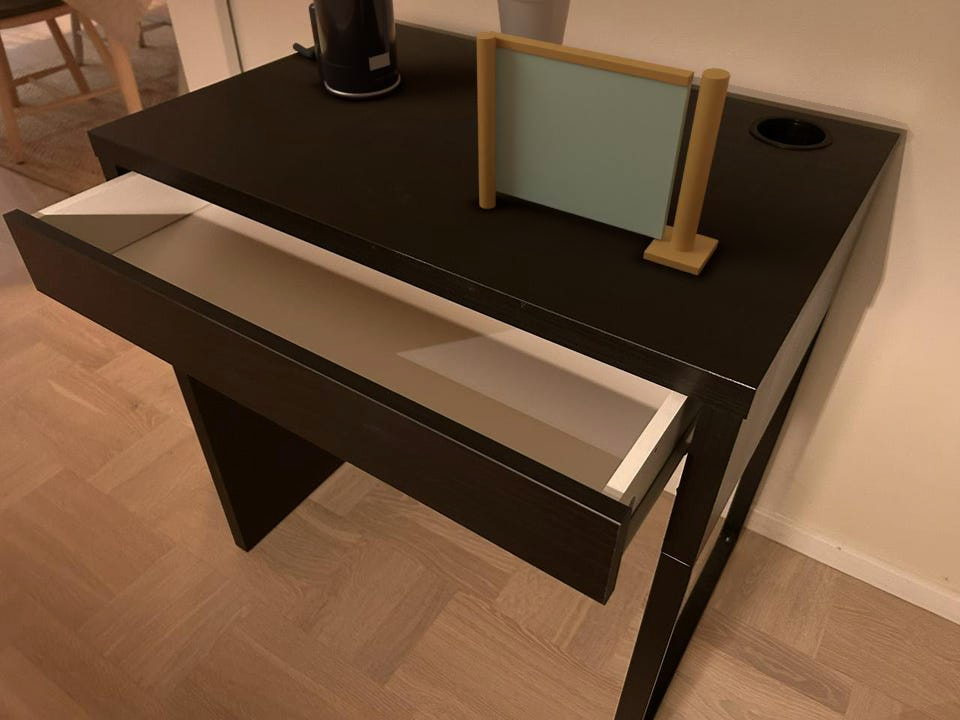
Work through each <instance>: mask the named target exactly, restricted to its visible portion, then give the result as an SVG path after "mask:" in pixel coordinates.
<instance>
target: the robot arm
mask: <svg viewBox="0 0 960 720" xmlns="http://www.w3.org/2000/svg"><path fill="white" fill-rule="evenodd" d="M394 9H395V8H394V0H312V2H311V3H310V4H309V6H308V14H309V21H310V27H311V32H312V38H313V45H314V46H311V48H310V49H308V48H306V47H305V46H304V45H301V44H300V43H298V42H294V43H293V44H292V49H293V50H294V51H295V52H297V53H299V54H300V55H301V56H303V57H305V58H306V59H307V58H308V59H311V60H314V59H316V63H317V70H318V76H319V83H320V85H321V86H324V87H325V90H326V92H327V93H329V94H330V95H332V96H334V97H337V98H341V99H345V100H369V99H376V98H380V97H383V96H386V95H390V94H391V93H394V92H395V91H396V90H397V89H398V88H399V87H400V86H401V74H400V70H399V57H398V45H397V43H398V42H397V34H396V23H395V22H396V21H395V11H394Z"/></svg>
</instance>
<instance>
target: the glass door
mask: <svg viewBox="0 0 960 720" xmlns="http://www.w3.org/2000/svg"><path fill="white" fill-rule="evenodd" d="M490 32H491V33H494V34H495V35H496V192H497V193H498V192H499V193H501V194H505V195H507V196H511V197H515V198H518V199H521V200H525V201H528V202H532V203H536V204H538V205H542V206H546V207H549V208H553V209H555V210H559V211H562V212H566V213H568V214H573V215H575V216H579V217H583V218H585V219H590V220H593V221H595V222H599V223H603V224H606V225H609V226H613V227H616V228H619V229H623V230H627V231H629V232H633V233H637V234H640V235H644V236H647V237H650V238H654V239H655V238H657V239H660V240H661V239H662V238H663V237H664V235H665V229H666V225H667V223H668V218H669V211H670V207H671V201H672V195H673V189H674V184H675V178H676V173H677V169H678V161H679V156H680V151H681V145H682V140H683V134H684V129H685V123H686V118H687V112H688V106H689V101H690V94H691V90H692V86H693V85H692V84H693V81H694V78H695V77H694V76H695V71H693V70H689V69H684V68H678V67H673V66H668V65H663V64H659V63H653V62H649V61H648V62H647V61H644V60H638V59H633V58H630V57H629V58H628V57H623V56H619V55H612V54H609V53H604V52H603V53H602V52H598V51H592V50H589V49H582V48H579V47H578V48H577V47H572V46H568V45H563V44H562V45H558V44H553V43H548V42H543V41H538V40H533V39H528V38H523V37H518V36H513V35H508V34H503V33H501V32H499V31H493V30H492V31H490Z"/></svg>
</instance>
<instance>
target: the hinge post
mask: <svg viewBox="0 0 960 720" xmlns="http://www.w3.org/2000/svg"><path fill="white" fill-rule="evenodd" d="M730 79H731V73H730V72H729V71H728V70H726V69H723V68H717V67H716V68H715V67H712V68H711V67H710V68H706V69H704V70H703V71H702V74H701V79H700V84H699V90H698V95H697V99H696V100H697V101H696V105H695V110H694V115H693V120H692V127H691V131H690V132H691V133H690V138H689V142H688V147H687V153H686V158H685V163H684V170H683V175H682V180H681V185H680V186H681V187H680V190H679V195H678V200H677V206H676V212H675V216H674V222H673V226H670V225H667V224H666V229H665V235H664V237H663V238H662V239H661V240H660V239H657V238H654V239H652V241H651V242H650V244H649V245H648V246H647V247H646V249H645V250H644V252H643V258H642V259H644V260H646V261H650V262H654V263H656V264H659V265H663V266H665V267H668V268H672V269H674V270H675V269H676V270H679V271H682V272H684V273H688V274H692V275H694V276H699V275H700V274H701V272H702V271H703V269H704V267H705V266H706V264H707V263H708V261H709V260H710V258H711V257H712V255H713V254H714V253H715V251H716V250H717V248H718V244H719V240H718V239H715V238H713V237H709V236H706V235H702V234H699V233H698V227H699V223H700V218H701V215H702V211H703V205H704V200H705V195H706V191H707V186H708V182H709V176H710V172H711V168H712V163H713V158H714V154H715V150H716V149H715V148H716V144H717V139H718V135H719V130H720V125H721V121H722V116H723V111H724V108H725V107H724V106H725V102H726V97H727V92H728V87H729V83H730Z"/></svg>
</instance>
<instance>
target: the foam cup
mask: <svg viewBox="0 0 960 720" xmlns="http://www.w3.org/2000/svg"><path fill="white" fill-rule="evenodd" d="M570 5H571V0H497V11H498V17H499V18H498V19H499V26H500V33H503V34H508V35H513V36H518V37H523V38H528V39H533V40H538V41H543V42H548V43H553V44H558V45H563V42H564V37H565V32H566V27H567V21H568V16H569V10H570Z"/></svg>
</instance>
